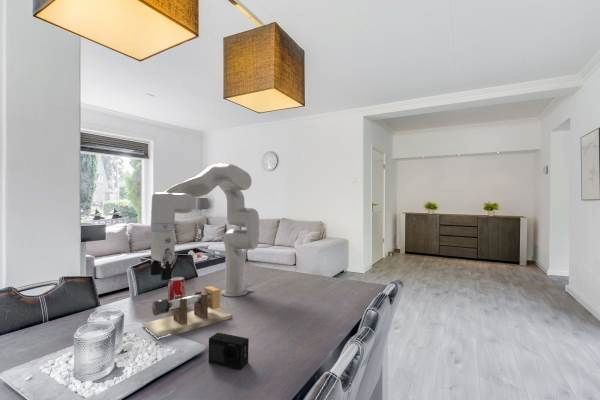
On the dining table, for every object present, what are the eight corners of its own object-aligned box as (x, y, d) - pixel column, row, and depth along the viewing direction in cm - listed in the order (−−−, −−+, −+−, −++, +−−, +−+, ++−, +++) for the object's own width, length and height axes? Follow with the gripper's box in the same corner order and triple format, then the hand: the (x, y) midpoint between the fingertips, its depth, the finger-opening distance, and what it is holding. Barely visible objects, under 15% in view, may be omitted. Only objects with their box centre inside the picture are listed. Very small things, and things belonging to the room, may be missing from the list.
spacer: (210, 303, 122) (211, 285, 122) (219, 307, 117) (220, 289, 117) (203, 304, 119) (204, 287, 120) (212, 309, 115) (213, 291, 115)
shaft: (214, 299, 122) (214, 287, 122) (220, 301, 118) (220, 289, 118) (152, 313, 105) (152, 299, 105) (157, 317, 101) (157, 303, 101)
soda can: (178, 310, 124) (179, 280, 124) (163, 308, 125) (164, 279, 126) (188, 304, 131) (189, 277, 131) (173, 303, 132) (174, 275, 133)
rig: (213, 308, 126) (214, 284, 127) (232, 317, 117) (232, 292, 117) (142, 326, 107) (143, 298, 107) (157, 339, 97) (157, 308, 97)
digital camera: (205, 365, 83) (205, 339, 83) (216, 355, 88) (217, 331, 88) (237, 373, 79) (238, 346, 79) (248, 362, 84) (248, 337, 84)
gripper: (184, 229, 101) (182, 280, 101) (164, 226, 113) (162, 271, 113) (161, 229, 96) (159, 283, 95) (142, 226, 108) (140, 274, 108)
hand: (160, 277), depth 104 cm, fingers open, 9 cm apart
